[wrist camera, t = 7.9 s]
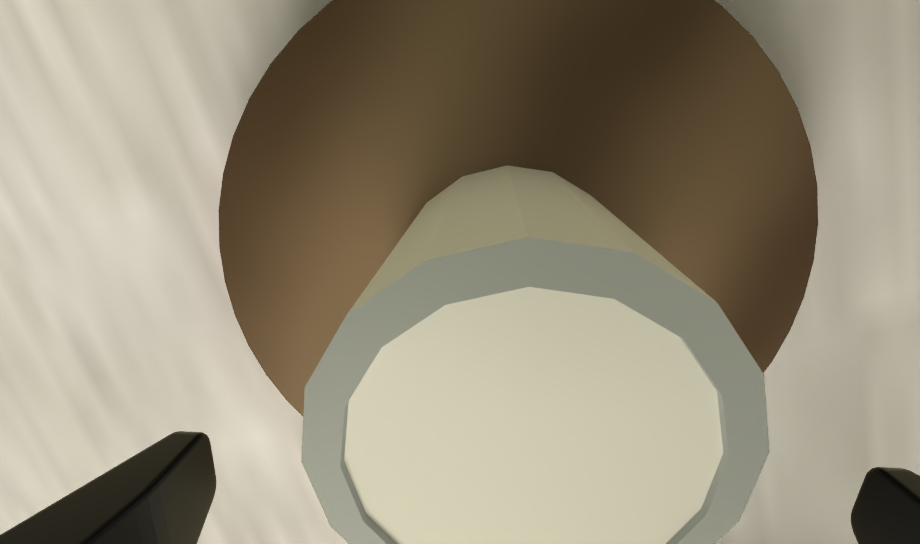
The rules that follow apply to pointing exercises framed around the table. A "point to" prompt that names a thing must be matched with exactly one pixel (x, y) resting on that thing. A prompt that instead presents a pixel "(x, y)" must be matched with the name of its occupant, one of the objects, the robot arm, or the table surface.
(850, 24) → the table surface
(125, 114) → the table surface
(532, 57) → the walnut pedestal
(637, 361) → the cream short cylinder
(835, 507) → the table surface
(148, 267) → the table surface
